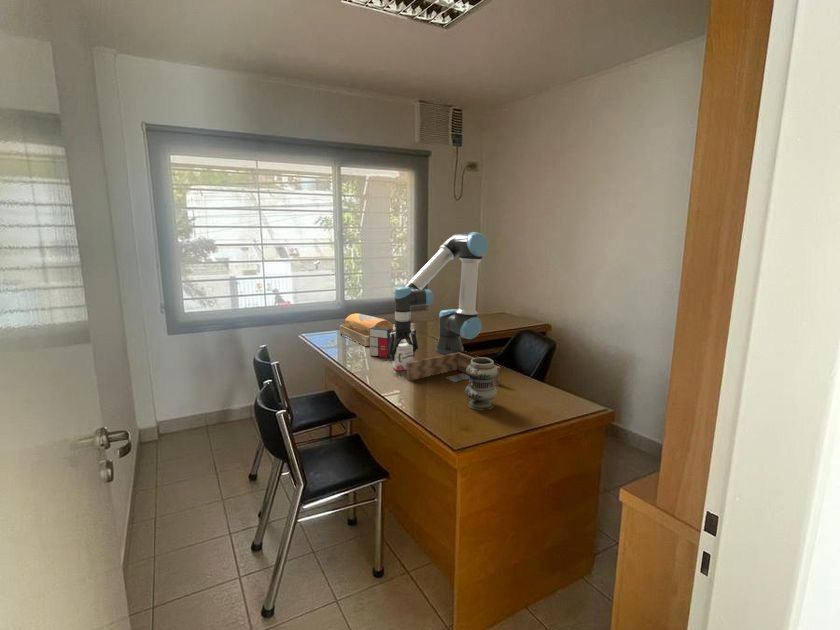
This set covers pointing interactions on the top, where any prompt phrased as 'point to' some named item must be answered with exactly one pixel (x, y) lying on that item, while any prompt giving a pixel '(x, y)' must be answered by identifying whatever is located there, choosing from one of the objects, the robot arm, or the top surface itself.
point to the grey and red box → (379, 341)
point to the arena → (443, 367)
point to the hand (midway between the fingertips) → (402, 365)
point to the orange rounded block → (365, 323)
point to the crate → (357, 335)
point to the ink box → (403, 355)
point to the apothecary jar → (481, 383)
